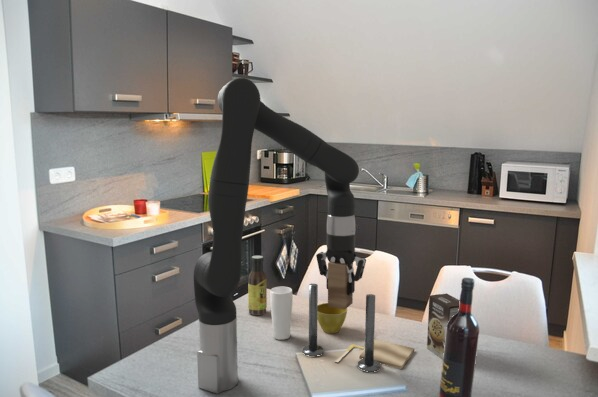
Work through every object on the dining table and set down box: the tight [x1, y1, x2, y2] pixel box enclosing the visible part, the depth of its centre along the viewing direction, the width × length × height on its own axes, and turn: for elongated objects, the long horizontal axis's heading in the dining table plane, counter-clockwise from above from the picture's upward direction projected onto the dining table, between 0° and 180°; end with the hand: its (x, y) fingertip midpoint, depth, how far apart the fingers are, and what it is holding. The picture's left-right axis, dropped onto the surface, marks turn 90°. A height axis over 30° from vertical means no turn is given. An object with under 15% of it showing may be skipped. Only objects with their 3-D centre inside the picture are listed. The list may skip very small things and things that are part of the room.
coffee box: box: [426, 293, 461, 360], centre depth 135 cm, size 9×6×16 cm
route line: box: [345, 344, 365, 352], centre depth 135 cm, size 12×5×1 cm, turn 151°
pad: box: [359, 338, 415, 370], centre depth 135 cm, size 12×12×1 cm
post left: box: [302, 283, 324, 356], centre depth 135 cm, size 6×6×20 cm
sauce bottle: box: [247, 255, 268, 316], centre depth 163 cm, size 6×6×20 cm
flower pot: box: [317, 302, 348, 334], centre depth 151 cm, size 10×10×7 cm
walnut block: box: [327, 261, 354, 310], centre depth 128 cm, size 5×5×12 cm
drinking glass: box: [269, 285, 294, 341], centre depth 145 cm, size 7×7×15 cm
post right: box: [357, 293, 381, 373], centre depth 127 cm, size 6×6×20 cm
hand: (340, 292), depth 129 cm, fingers closed on walnut block, 5 cm apart
